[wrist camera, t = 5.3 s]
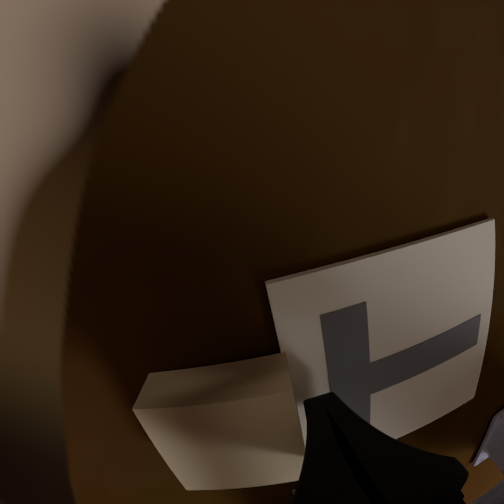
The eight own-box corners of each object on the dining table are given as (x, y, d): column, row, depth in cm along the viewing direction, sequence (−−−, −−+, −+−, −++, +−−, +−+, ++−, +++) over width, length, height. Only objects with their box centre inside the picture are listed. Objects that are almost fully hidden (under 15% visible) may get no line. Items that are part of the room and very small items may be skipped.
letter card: (489, 218, 12) (495, 219, 11) (470, 394, 15) (474, 397, 14) (264, 281, 12) (266, 284, 11) (305, 465, 14) (307, 470, 14)
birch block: (285, 351, 12) (292, 390, 9) (304, 441, 13) (310, 478, 11) (149, 372, 12) (132, 409, 10) (192, 455, 14) (186, 490, 11)
